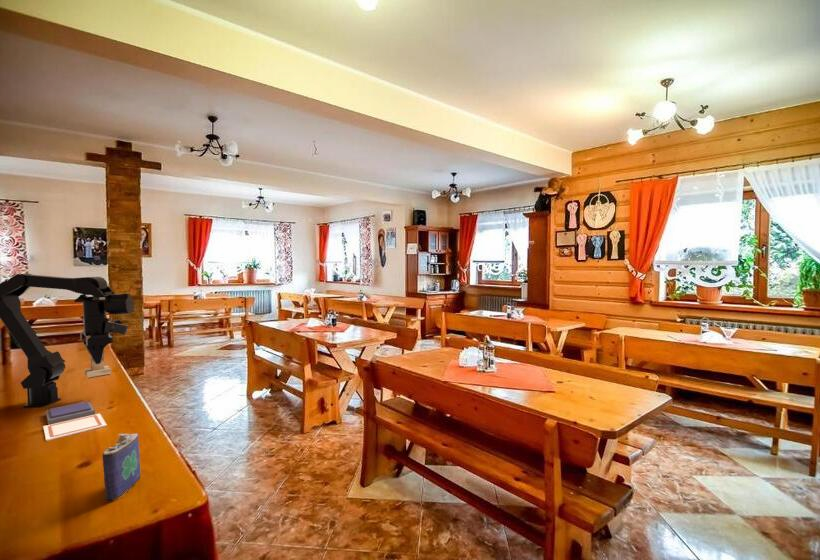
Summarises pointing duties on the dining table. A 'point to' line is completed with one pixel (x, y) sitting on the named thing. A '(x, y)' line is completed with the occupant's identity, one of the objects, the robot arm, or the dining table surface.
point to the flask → (121, 466)
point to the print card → (73, 426)
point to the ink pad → (69, 412)
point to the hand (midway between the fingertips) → (97, 362)
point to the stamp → (97, 369)
